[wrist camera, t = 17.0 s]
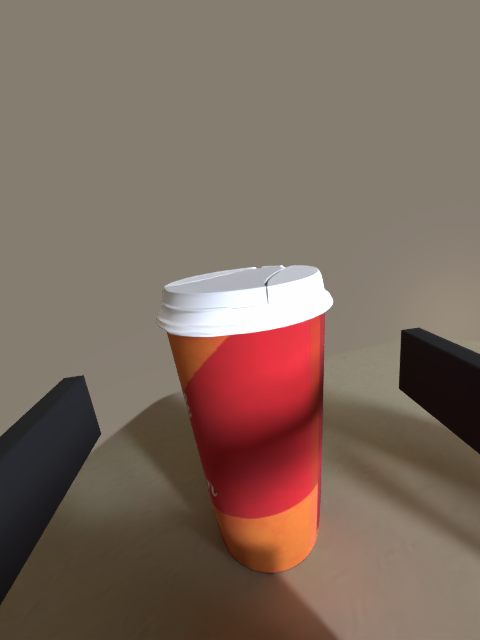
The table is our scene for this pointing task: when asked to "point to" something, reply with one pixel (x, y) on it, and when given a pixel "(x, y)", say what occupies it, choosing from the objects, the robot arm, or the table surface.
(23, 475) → the robot arm
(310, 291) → the paper cup
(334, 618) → the table surface
